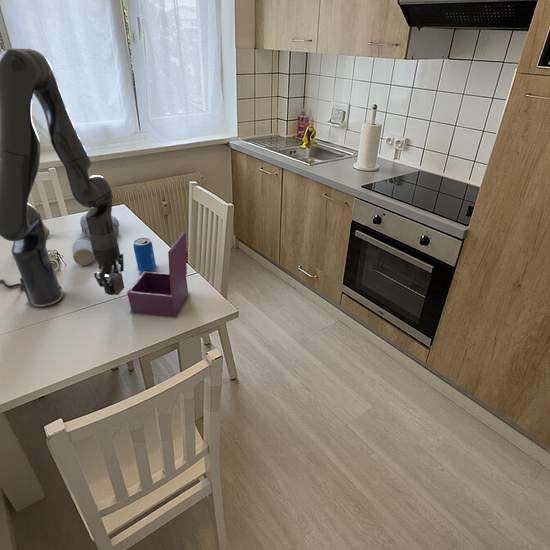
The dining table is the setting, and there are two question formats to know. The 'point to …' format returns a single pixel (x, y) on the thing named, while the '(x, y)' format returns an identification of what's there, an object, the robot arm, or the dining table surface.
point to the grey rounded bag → (85, 228)
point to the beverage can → (144, 255)
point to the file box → (156, 295)
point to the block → (116, 283)
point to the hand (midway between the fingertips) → (114, 289)
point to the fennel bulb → (44, 227)
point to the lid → (177, 263)
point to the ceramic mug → (83, 252)
